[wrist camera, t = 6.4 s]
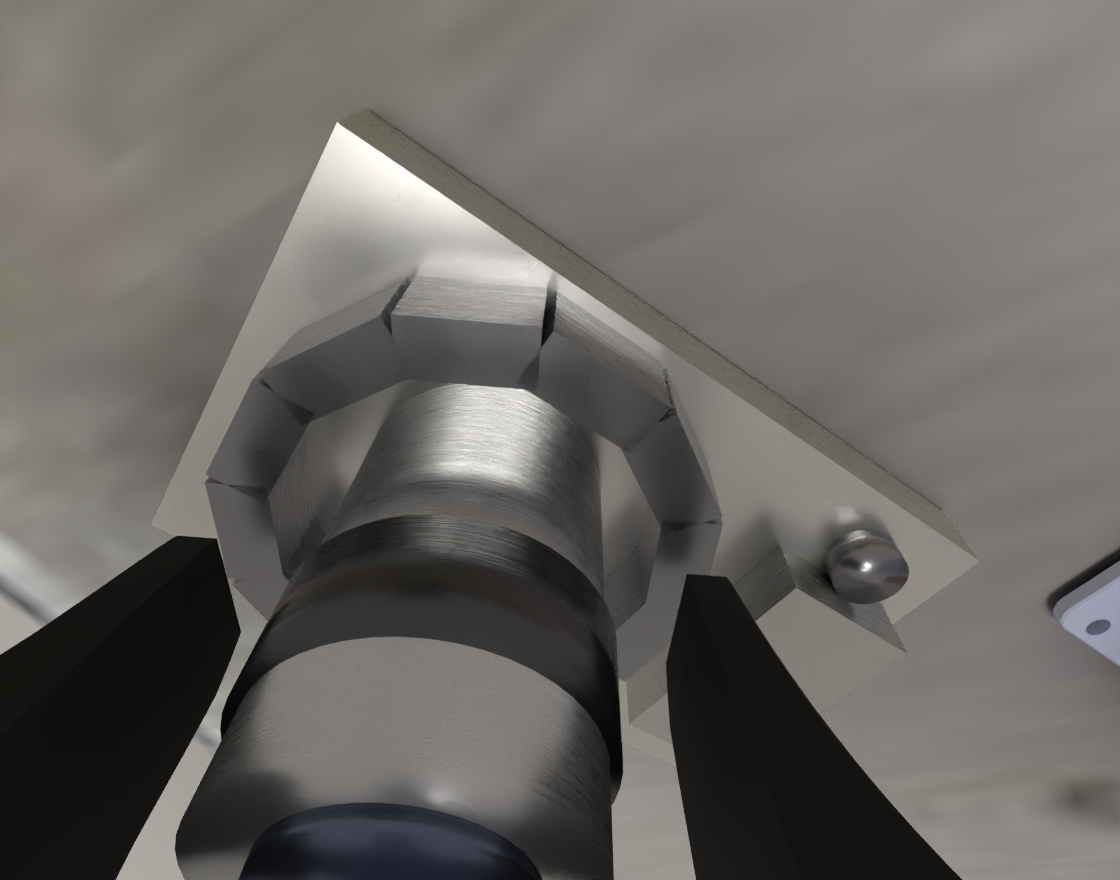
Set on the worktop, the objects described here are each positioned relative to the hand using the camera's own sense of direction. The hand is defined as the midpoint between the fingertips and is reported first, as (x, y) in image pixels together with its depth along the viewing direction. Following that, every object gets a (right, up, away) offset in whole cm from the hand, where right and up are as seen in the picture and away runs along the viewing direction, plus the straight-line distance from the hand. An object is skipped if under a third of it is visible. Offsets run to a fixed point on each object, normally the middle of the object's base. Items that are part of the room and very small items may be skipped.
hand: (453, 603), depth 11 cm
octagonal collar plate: (+2, +1, +4) cm, 5 cm away
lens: (0, +2, +2) cm, 3 cm away
